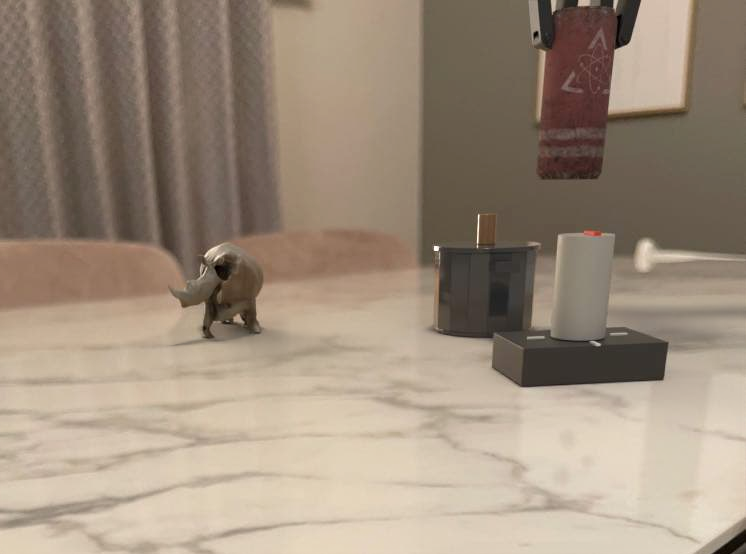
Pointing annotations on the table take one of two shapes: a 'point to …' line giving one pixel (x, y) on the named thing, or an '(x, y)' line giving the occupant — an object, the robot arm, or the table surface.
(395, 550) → the table surface
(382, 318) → the table surface
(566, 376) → the block
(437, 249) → the pot lid
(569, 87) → the can
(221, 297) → the rhinoceros figurine
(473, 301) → the pot
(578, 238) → the knob
